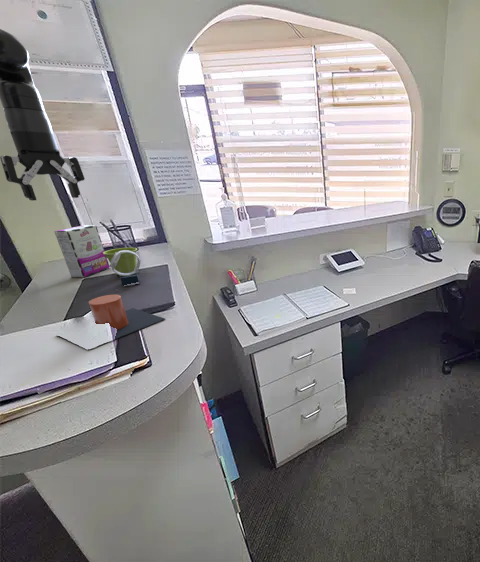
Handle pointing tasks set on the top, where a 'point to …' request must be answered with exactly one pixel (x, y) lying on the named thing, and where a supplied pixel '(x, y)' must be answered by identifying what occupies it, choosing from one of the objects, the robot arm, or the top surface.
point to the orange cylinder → (109, 311)
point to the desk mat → (137, 322)
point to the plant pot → (123, 259)
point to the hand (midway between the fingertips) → (55, 198)
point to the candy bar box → (82, 250)
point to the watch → (130, 276)
